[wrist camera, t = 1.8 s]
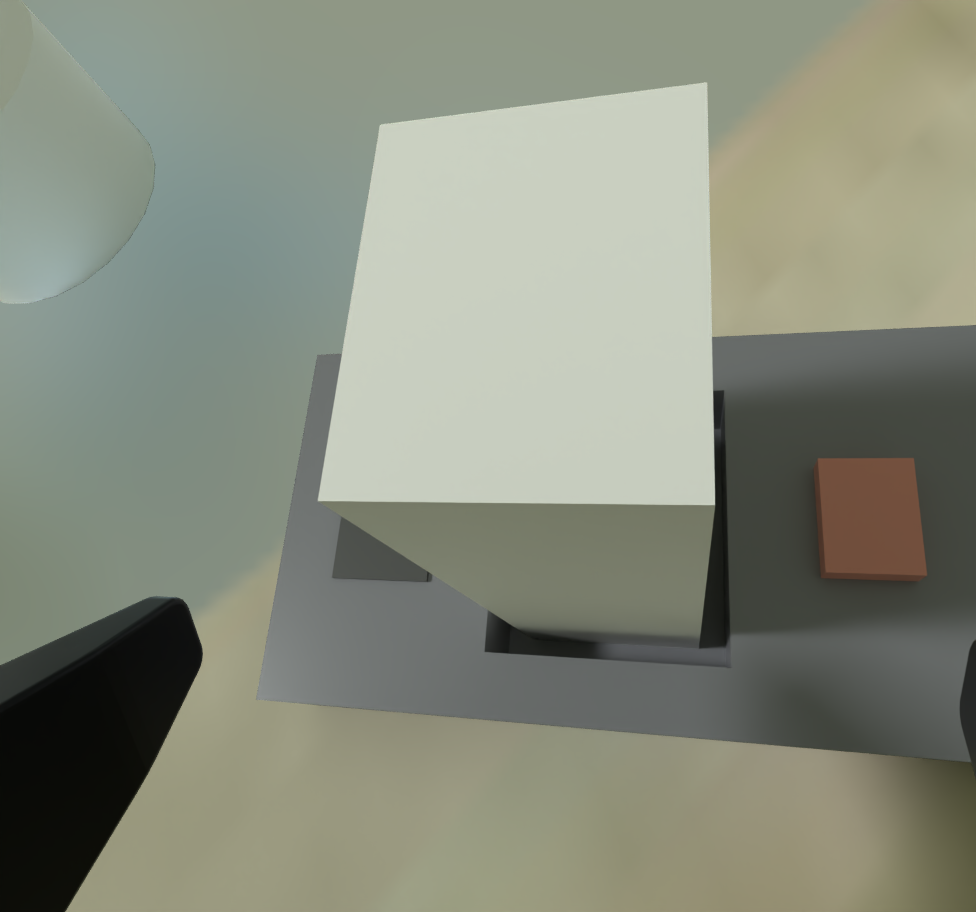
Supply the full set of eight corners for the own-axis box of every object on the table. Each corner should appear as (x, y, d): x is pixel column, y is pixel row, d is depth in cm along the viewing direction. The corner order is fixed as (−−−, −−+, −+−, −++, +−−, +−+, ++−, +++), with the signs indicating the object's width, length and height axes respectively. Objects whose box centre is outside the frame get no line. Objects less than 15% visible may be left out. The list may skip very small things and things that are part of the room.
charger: (696, 451, 19) (707, 82, 8) (698, 648, 18) (714, 505, 7) (544, 452, 20) (379, 124, 10) (533, 638, 19) (317, 500, 8)
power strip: (939, 384, 19) (992, 310, 16) (989, 764, 16) (1066, 770, 13) (361, 399, 23) (307, 344, 20) (314, 704, 20) (242, 698, 17)
